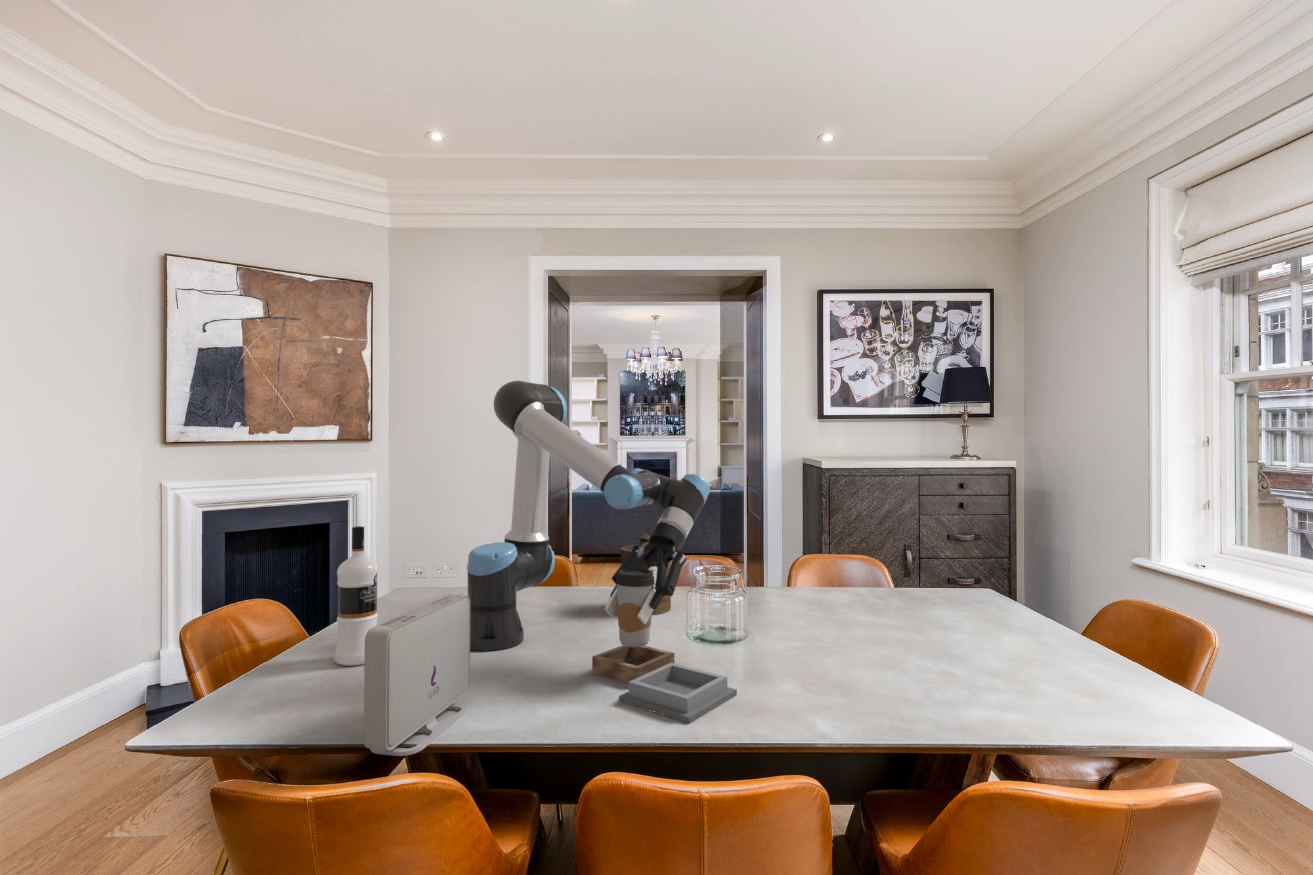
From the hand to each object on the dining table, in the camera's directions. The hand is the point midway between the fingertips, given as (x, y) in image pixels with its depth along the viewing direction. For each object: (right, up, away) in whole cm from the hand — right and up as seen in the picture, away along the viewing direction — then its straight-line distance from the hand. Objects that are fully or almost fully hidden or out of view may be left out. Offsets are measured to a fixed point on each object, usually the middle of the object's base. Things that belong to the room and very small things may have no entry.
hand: (624, 616), depth 132 cm
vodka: (-61, -13, +10) cm, 63 cm away
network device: (-33, -12, -25) cm, 43 cm away
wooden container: (+3, -14, +55) cm, 57 cm away
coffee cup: (+2, -6, +3) cm, 7 cm away
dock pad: (+11, -12, -12) cm, 20 cm away
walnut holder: (+2, -12, +2) cm, 13 cm away
